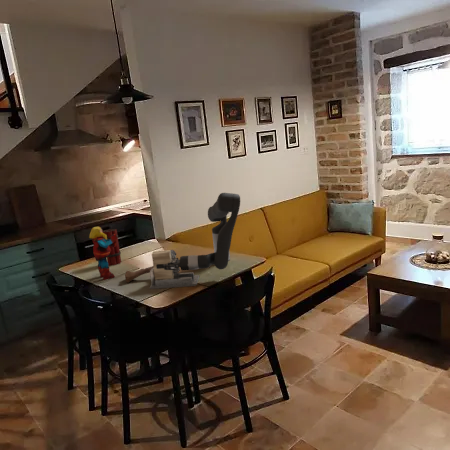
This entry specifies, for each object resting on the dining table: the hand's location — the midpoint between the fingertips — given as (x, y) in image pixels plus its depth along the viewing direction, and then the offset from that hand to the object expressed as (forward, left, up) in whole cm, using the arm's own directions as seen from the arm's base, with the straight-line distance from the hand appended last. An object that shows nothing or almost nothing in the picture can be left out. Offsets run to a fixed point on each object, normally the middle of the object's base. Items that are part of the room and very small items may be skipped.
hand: (157, 265), depth 212 cm
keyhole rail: (0, +8, -10) cm, 13 cm away
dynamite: (-44, -39, -10) cm, 60 cm away
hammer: (-10, -6, -11) cm, 16 cm away
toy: (-17, -33, -10) cm, 38 cm away
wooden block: (0, +3, -9) cm, 9 cm away
